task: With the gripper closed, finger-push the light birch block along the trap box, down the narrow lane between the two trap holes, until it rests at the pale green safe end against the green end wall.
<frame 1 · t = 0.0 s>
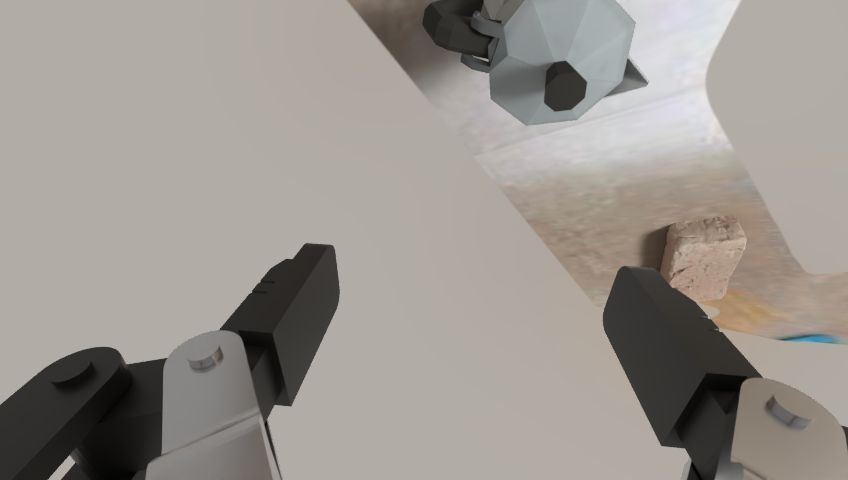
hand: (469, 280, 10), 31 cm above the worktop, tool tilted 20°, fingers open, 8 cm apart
brick: (689, 251, 56), on the worktop
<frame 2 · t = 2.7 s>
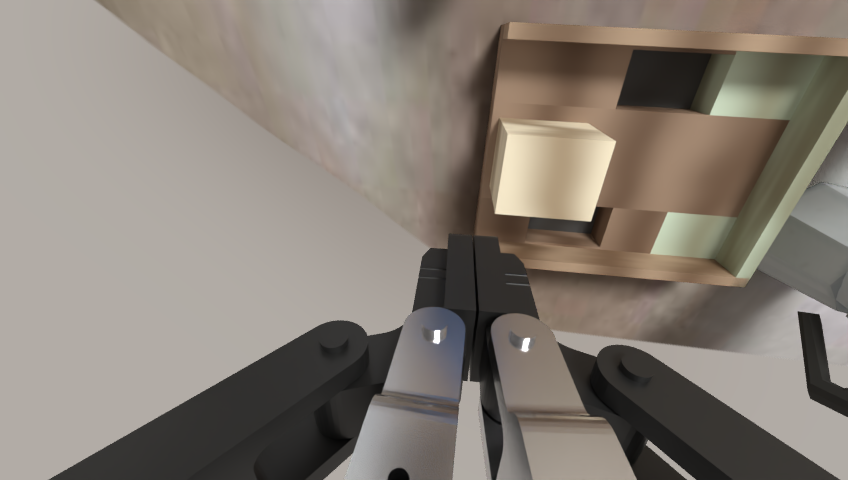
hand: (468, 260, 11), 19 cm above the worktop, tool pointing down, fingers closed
coffee maker: (788, 237, 29), on the worktop
birch block: (536, 156, 25), point 2 cm above the worktop, touching trap box
trap box: (615, 153, 27), on the worktop
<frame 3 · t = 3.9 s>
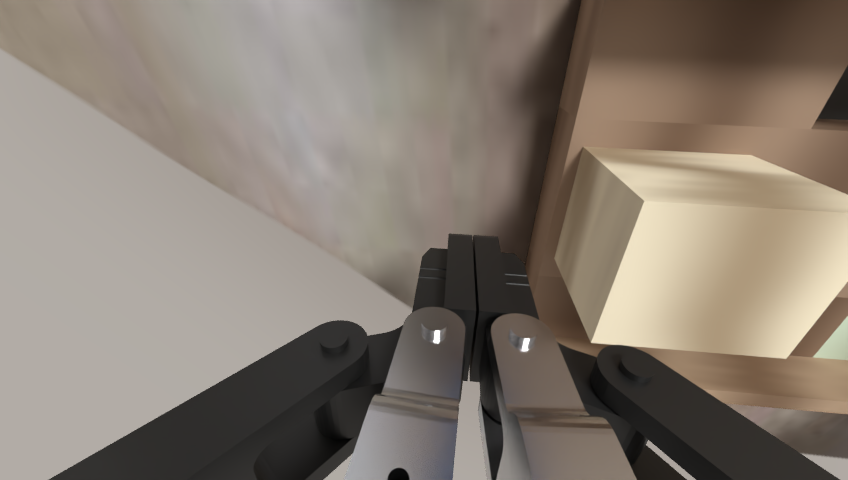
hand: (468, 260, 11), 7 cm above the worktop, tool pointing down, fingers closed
birch block: (642, 211, 14), point 2 cm above the worktop, touching trap box
trap box: (765, 197, 16), on the worktop
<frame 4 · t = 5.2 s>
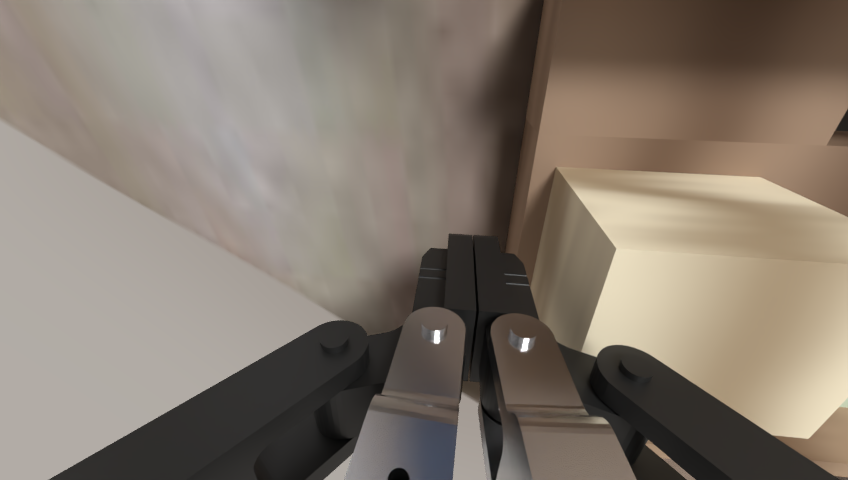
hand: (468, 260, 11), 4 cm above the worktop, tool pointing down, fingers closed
birch block: (630, 242, 12), point 3 cm above the worktop, touching gripper, trap box
trap box: (771, 221, 14), on the worktop
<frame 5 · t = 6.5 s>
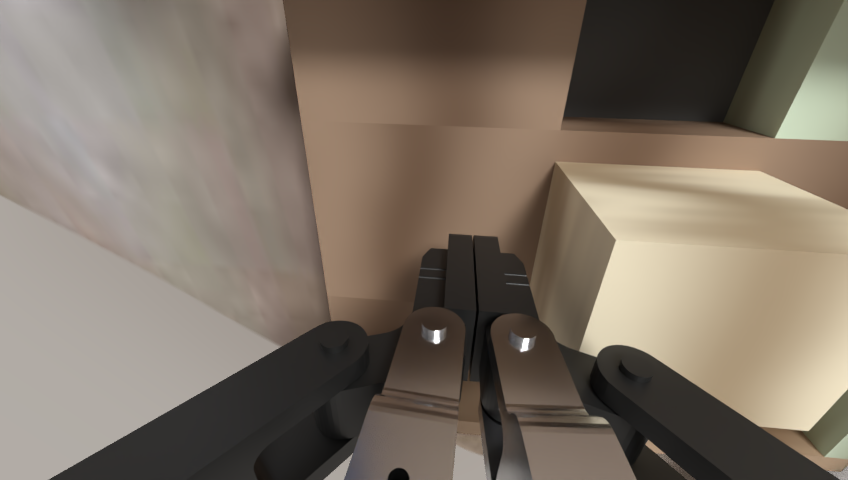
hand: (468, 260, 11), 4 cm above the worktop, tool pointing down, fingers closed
birch block: (630, 237, 12), point 2 cm above the worktop, touching gripper, trap box
trap box: (577, 206, 14), on the worktop
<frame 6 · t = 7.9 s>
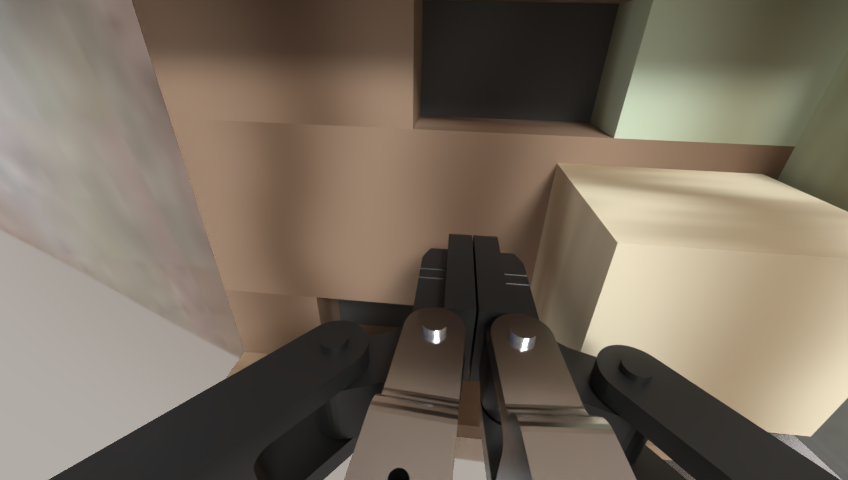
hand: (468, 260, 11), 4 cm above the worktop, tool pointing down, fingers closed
coffee maker: (798, 340, 17), on the worktop
birch block: (631, 239, 12), point 2 cm above the worktop, touching gripper, trap box
trap box: (467, 204, 15), on the worktop
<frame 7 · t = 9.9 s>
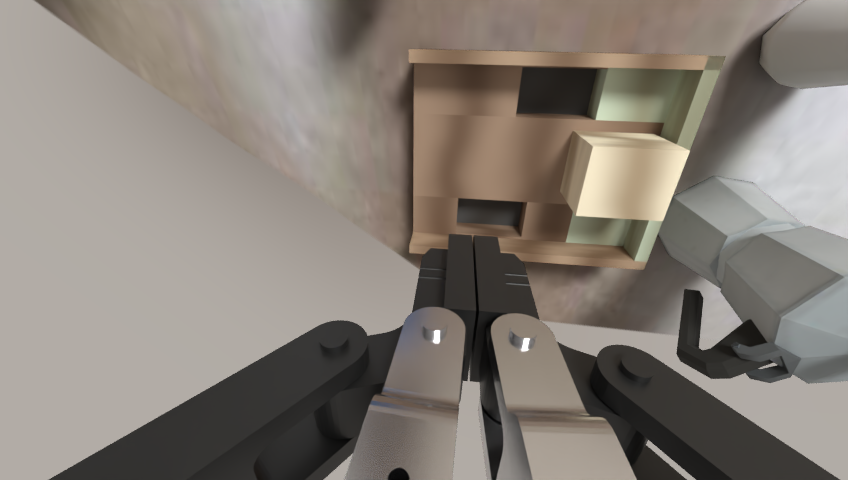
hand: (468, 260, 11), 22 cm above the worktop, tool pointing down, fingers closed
salt shaker: (789, 41, 25), on the worktop
coffee maker: (693, 225, 33), on the worktop
birch block: (604, 163, 28), point 2 cm above the worktop, touching trap box
trap box: (529, 154, 31), on the worktop
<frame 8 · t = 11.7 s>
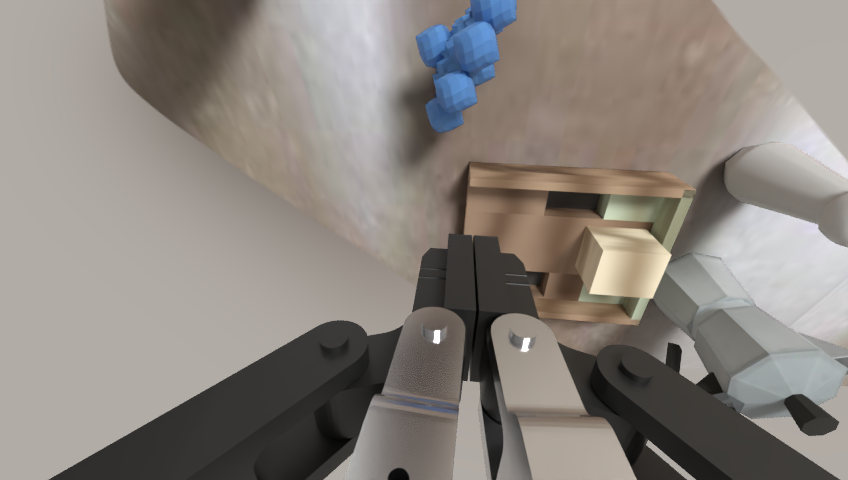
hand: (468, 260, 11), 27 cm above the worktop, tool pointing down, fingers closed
salt shaker: (744, 165, 35), on the worktop
grapes: (457, 53, 32), on the worktop
coffee maker: (676, 286, 42), on the worktop
birch block: (609, 248, 38), point 2 cm above the worktop, touching trap box
trap box: (551, 235, 40), on the worktop
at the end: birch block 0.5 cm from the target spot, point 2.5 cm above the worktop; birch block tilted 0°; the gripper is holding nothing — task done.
